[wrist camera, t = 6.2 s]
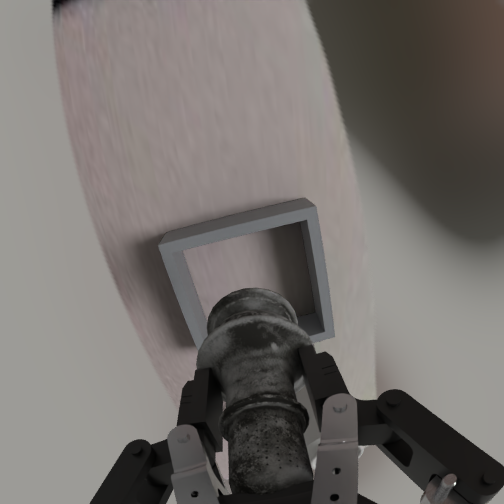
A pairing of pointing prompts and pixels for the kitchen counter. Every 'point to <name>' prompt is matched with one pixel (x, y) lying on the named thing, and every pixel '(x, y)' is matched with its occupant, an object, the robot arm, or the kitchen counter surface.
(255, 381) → the chess piece
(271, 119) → the kitchen counter surface
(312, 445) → the can
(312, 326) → the bin
